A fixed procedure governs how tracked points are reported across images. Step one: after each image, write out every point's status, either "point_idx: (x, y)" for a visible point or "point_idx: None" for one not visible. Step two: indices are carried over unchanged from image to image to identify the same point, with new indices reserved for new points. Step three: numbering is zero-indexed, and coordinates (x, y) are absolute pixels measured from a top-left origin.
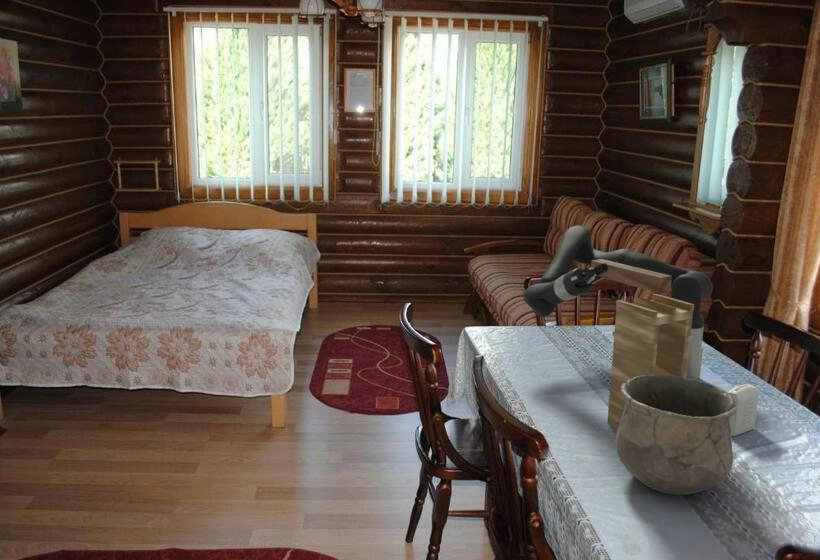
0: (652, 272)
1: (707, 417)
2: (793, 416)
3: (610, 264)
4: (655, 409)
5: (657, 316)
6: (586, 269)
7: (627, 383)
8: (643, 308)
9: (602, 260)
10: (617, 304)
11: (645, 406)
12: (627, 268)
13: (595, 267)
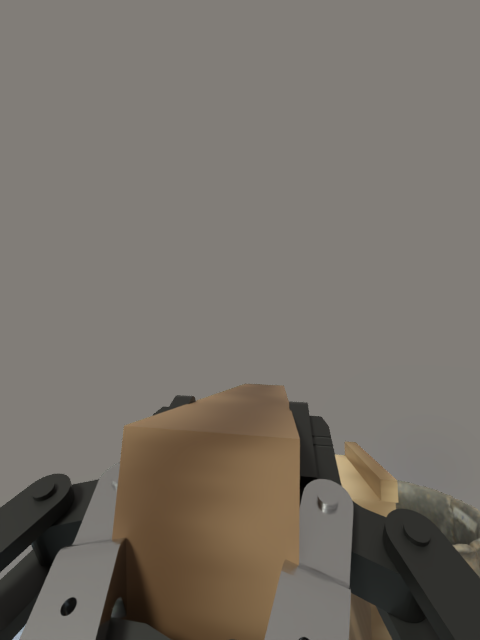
0: (251, 386)
1: (402, 481)
2: (19, 636)
3: (272, 404)
4: (460, 500)
5: (338, 456)
6: (429, 526)
7: (470, 547)
8: (361, 450)
9: (196, 419)
10: (396, 491)
11: (472, 506)
12: (272, 393)
13: (315, 479)
